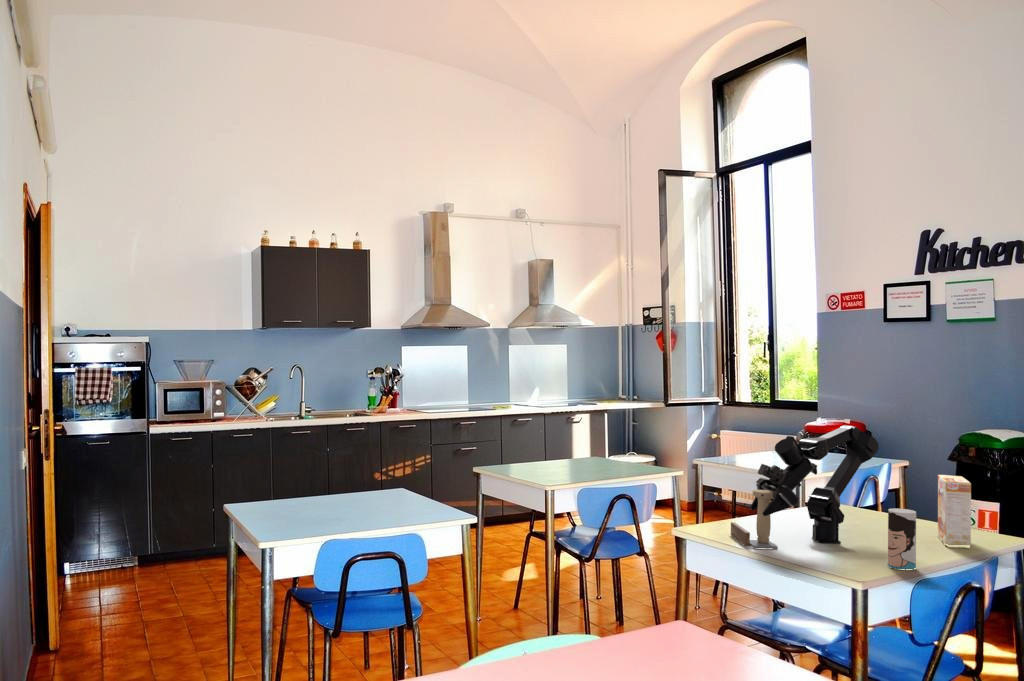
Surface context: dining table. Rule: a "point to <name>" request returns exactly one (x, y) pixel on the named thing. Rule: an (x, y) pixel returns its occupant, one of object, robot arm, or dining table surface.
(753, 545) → the end pad
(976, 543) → the dining table surface
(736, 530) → the walnut fence
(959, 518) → the coffeecake box
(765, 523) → the handle
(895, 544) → the cup
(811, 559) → the dining table surface
